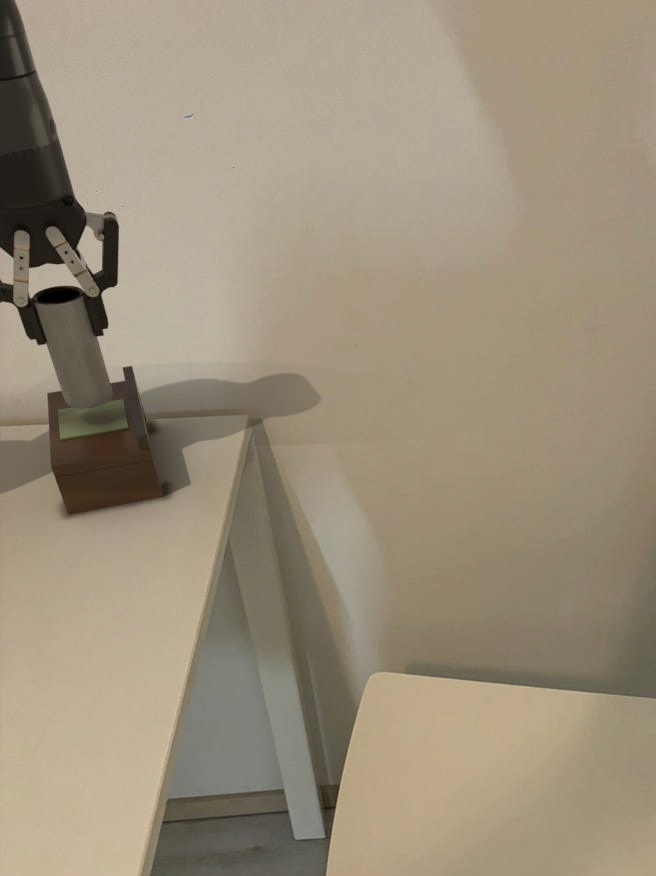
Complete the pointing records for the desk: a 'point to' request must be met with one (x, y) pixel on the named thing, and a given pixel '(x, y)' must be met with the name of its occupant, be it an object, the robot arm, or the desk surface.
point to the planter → (73, 346)
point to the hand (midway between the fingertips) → (70, 336)
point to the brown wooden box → (102, 450)
